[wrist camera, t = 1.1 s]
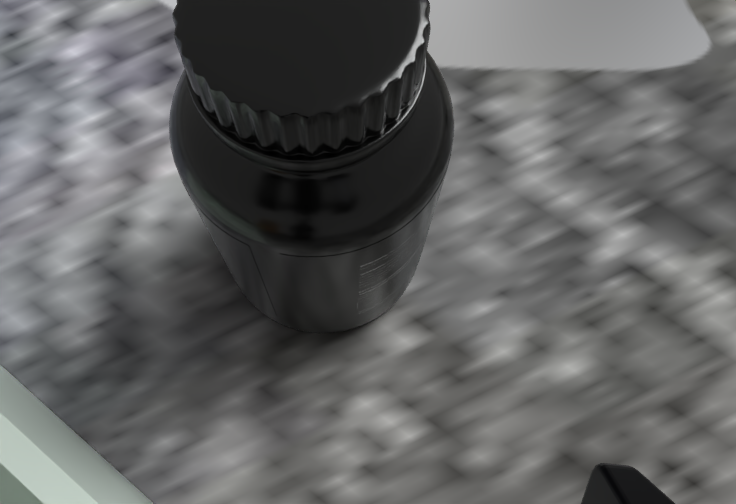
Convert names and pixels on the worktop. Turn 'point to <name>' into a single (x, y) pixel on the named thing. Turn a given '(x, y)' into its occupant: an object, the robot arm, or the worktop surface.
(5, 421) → the box
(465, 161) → the worktop surface
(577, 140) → the worktop surface
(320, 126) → the supplement bottle
